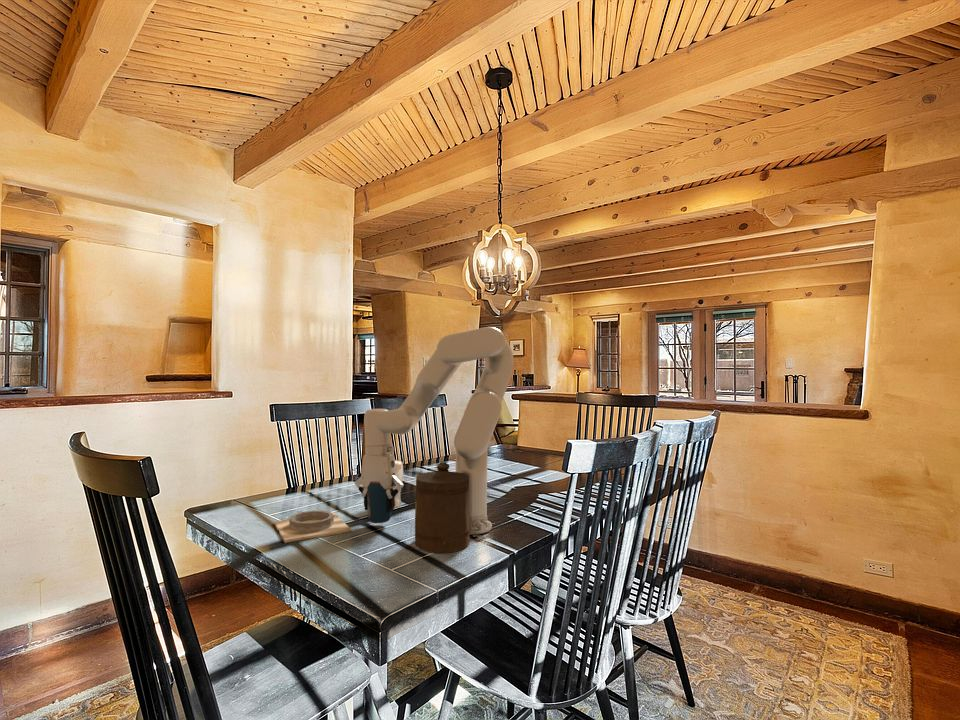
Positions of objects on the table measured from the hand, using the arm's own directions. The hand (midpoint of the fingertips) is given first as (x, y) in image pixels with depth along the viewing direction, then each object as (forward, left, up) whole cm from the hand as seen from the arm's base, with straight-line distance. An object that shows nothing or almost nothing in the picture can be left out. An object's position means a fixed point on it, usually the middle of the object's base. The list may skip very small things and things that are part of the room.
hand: (379, 509), depth 148 cm
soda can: (0, 0, -4) cm, 4 cm away
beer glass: (+18, -11, -5) cm, 22 cm away
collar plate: (+8, +18, -5) cm, 20 cm away
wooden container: (-22, -10, -5) cm, 24 cm away
